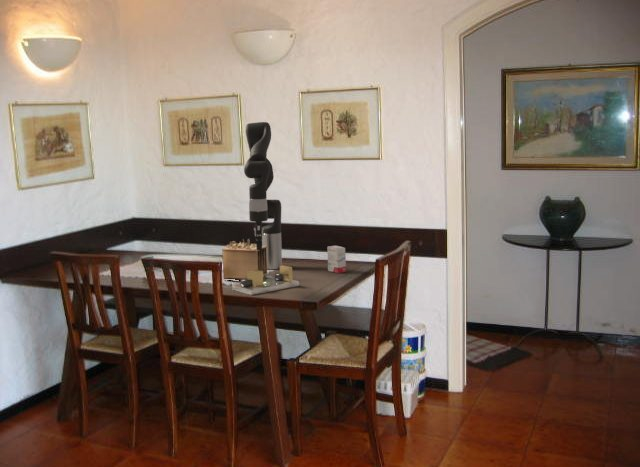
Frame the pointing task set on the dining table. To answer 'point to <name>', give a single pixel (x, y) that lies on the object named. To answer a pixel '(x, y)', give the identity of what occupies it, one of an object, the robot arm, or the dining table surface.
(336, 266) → the ink box
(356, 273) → the dining table surface
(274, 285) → the levelling plate
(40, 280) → the dining table surface
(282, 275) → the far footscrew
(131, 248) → the dining table surface
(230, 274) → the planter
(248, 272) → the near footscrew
